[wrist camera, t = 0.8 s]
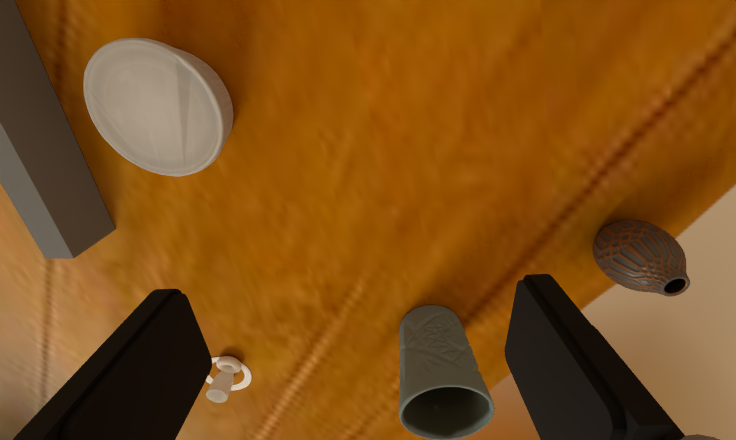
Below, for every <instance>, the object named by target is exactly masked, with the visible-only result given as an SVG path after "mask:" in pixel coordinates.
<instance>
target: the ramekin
mask: <svg viewBox="0 0 736 440" xmlns="http://www.w3.org/2000/svg"><path fill="white" fill-rule="evenodd" d="M83 89H84V97H85V102H86V105H87V109H88V112H89V114H90V117H91V119H92V121H93V123H94V125H95V126H96V128H97V130H98V131H99V133H100V134H101V136H102V137H103V138H104V139H105V140H106V141H107V142H108V143H109V144H110V145H111V147H113V148H114V149H115V150H116V151H117V152H118V153H119V154H120V155H122V156H123V157H124V158H126V159H127V160H129V161H130V162H132V163H133V164H135V165H137V166H139V167H141V168H143V169H145V170H148V171H151V172H154V173H157V174H161V175H168V176H185V175H190V174H193V173H196V172H199V171H201V170H203V169H204V168H206V167H207V166H209V165H210V164H211V163H212V162H213V161H214V160H215V159H216V158H217V157H218V156H219V154H220V152H221V151H222V148H223V146H224V143H225V142H226V140H227V138H228V136H229V135H230V132H231V129H232V126H233V115H234V113H233V105H232V102H231V98H230V96H229V93H228V91H227V89H226V87H225V85H224V84H223V82H222V80H221V79H220V77H219V76H218V75H217V73H216V72H215V71H214V70H213V69H212V68H211V67H210V66H209V65H207V64H206V63H205V62H204V61H202V60H200V59H199V58H198V57H196V56H194V55H192V54H191V53H188V52H185V51H183V50H180V49H177V48H174V47H172V46H170V45H167V44H165V43H162V42H159V41H156V40H152V39H147V38H123V39H118V40H115V41H112V42H109V43H107V44H105V45H104V46H102V47H101V48H99V49H98V50H97V51H96V52H95V53H94V54H93V56H92V57H91V58H90V60H89V62H88V64H87V67H86V69H85V71H84V81H83Z"/></svg>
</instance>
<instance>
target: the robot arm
mask: <svg viewBox="0 0 736 440" xmlns="http://www.w3.org/2000/svg"><path fill="white" fill-rule="evenodd" d="M505 358H506V361H507V364H508V366H509V369H510V371H511V373H512V375H513V377H514V380H515V382H516V384H517V387H518V389H519V391H520V394H521V396H522V398H523V400H524V403H525V405H526V407H527V409H528V412H529V414H530V416H531V419H532V421H533V423H534V425H535V427H536V430H537V432H538V434H539V436H540V439H541V440H719V439H716V438H714V437H709V436H704V435H698V434H697V435H688V436H685V435H684V434H683V433H682V432H681V430H680V429H679V428H678V427H677V425H676V424H675V423H674V422H673V421H672V419H671V418H670V417H669V416H668V415H667V413H666V412H665V411H664V410H663V409H662V407H661V406H660V405H659V404H658V402H657V401H656V400H655V399H654V398H653V396H652V395H651V394H650V393H649V392H648V390H647V389H646V388H645V387H644V386H643V384H642V383H641V382H640V381H639V380H638V378H637V377H636V376H635V375H634V373H633V372H632V371H631V370H630V369H629V368H628V366H627V365H626V364H625V362H624V361H623V360H622V359H621V358H620V357H619V355H618V354H617V353H616V352H615V350H614V349H613V348H612V347H611V346H610V344H609V343H608V342H607V341H606V340H605V338H604V337H603V336H602V335H601V333H600V332H599V331H598V330H597V329H596V328H595V327H594V326H593V325H591V324H590V322H589V321H588V320H587V319H586V318H585V316H584V315H583V314H582V313H581V311H580V310H579V309H578V308H577V307H576V305H575V304H574V303H573V302H572V300H571V299H570V298H569V297H568V296H567V294H566V293H565V292H564V291H563V289H562V288H561V287H560V286H559V285H558V283H557V282H556V281H555V280H554V278H553V277H552V276H551V275H549V274H535V275H526V276H525V277H524V279H523V280H520V281H518V283H517V287H516V293H515V298H514V303H513V309H512V314H511V319H510V324H509V330H508V335H507V340H506V346H505ZM211 367H212V358H211V355H210V353H209V350H208V348H207V345H206V343H205V340H204V338H203V335H202V333H201V330H200V328H199V325H198V323H197V320H196V318H195V315H194V313H193V310H192V308H191V305H190V303H189V300H188V298H187V296H186V295H185V294H182V293H181V291H180V290H178V289H157V290H154V291H153V292H151V293H150V294H149V295H148V296H147V297H146V299H145V300H144V301H143V302H142V303H141V304H140V305H139V306H138V307H137V308H136V309H135V310H134V311H133V312H132V313H131V314H130V316H129V317H128V318H127V319H126V320H125V321H124V322H123V323H122V324H121V325H120V326H119V327H118V328H117V329H116V330H115V331H114V332H113V334H112V335H111V336H110V337H109V338H108V339H107V340H106V341H105V342H104V343H103V344H102V345H101V346H100V347H99V348H98V349H97V351H96V352H95V353H94V354H93V355H92V356H91V357H90V358H89V359H88V360H87V361H86V362H85V363H84V364H83V365H82V366H81V368H80V369H79V370H78V371H77V372H76V373H75V374H74V375H73V376H72V377H71V378H70V379H69V380H68V381H67V382H66V383H65V385H64V386H63V387H62V388H61V389H60V390H59V391H58V392H57V393H56V394H55V395H54V396H53V397H52V398H51V399H50V400H49V401H48V403H47V404H46V405H45V406H44V407H43V408H42V409H41V410H40V411H39V412H38V413H37V414H36V415H35V416H34V417H33V418H32V420H31V421H30V422H29V423H28V424H27V425H26V426H25V427H24V428H23V429H22V430H21V431H20V432H19V433H18V434H17V435H16V437H15V438H14V439H13V440H175V439H176V437H177V435H178V433H179V431H180V429H181V427H182V425H183V423H184V421H185V419H186V417H187V415H188V414H189V412H190V410H191V408H192V406H193V404H194V402H195V400H196V398H197V396H198V394H199V392H200V390H201V388H202V386H203V385H204V383H205V381H206V379H207V377H208V375H209V373H210V371H211Z"/></svg>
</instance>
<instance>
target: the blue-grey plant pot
mask: <svg viewBox="0 0 736 440" xmlns="http://www.w3.org/2000/svg"><path fill="white" fill-rule="evenodd" d="M399 347H400V350H401V352H400V376H399V378H400V393H399V418H400V421H401V423H402V425H403V426H404V427H405V428H406V429H407V430H408V431H410V432H411V433H413V434H415V435H418V436H420V437H423V438H428V439H435V440H451V439H458V438H463V437H466V436H469V435H471V434H473V433H476V432H477V431H479V430H481V429H482V428H483V427H484V426H486V425H487V424H488V423H489V422H490V420H491V419H492V417H493V415H494V404H493V401H492V399H491V397H490V394H489V392H488V389H487V387H486V385H485V382H484V381H483V378H482V375H481V374H480V373H479V371H478V364H477V363H476V360H475V357H474V355H473V352H472V349H471V347H470V346H469V342H468V340H467V337H466V335H465V332H464V329H463V327H462V324H461V322H460V320H459V318H458V317H457V315H456V314H455V313H453V312H452V311H451V310H450V309H448V308H446V307H443V306H438V305H426V306H421V307H418V308H415V309H413V310H411V311H410V312H409V313H407V314H406V315H405V316H404V318H403V319H402V321H401V323H400V327H399Z"/></svg>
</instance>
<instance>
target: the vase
mask: <svg viewBox="0 0 736 440" xmlns="http://www.w3.org/2000/svg"><path fill="white" fill-rule="evenodd" d="M593 255H594V258H595V260H596V263H597V264H598V266H599V267H600V269H601V270H602V271H603V272H604V273H605V274H606V275H607V276H608V277H609V278H610V279H612V280H613V281H614V282H616V283H618V284H620V285H622V286H624V287H626V288H629V289H632V290H636V291H642V292H653V293H659V294H662V295H665V296H676V295H679V294H681V293H683V292H684V291H685V290H686V289H687V288H688V287H689V285H690V280H689V278H688V276H687V274H686V258H685V254H684V252H683V249H682V248H681V246H680V245H679V244H678V242H677V241H676V240H675V239H674V238H673V237H672V236H671V235H670V234H669V233H667V232H666V231H664V230H663V229H661V228H659V227H657V226H655V225H653V224H650V223H647V222H643V221H639V220H622V221H618V222H615V223H612V224H610V225H608V226H606V227H605V228H603V229H602V230H601V231H600V232H599V233H598V235H597V236H596V238H595V240H594V243H593Z"/></svg>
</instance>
